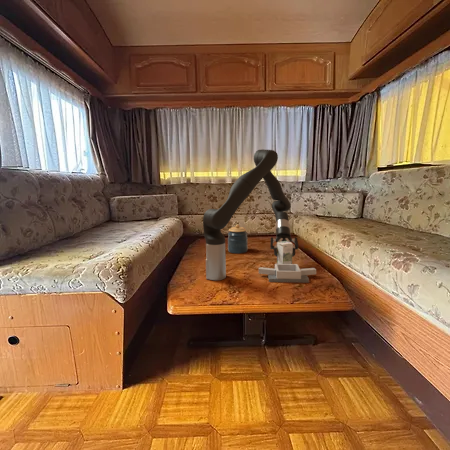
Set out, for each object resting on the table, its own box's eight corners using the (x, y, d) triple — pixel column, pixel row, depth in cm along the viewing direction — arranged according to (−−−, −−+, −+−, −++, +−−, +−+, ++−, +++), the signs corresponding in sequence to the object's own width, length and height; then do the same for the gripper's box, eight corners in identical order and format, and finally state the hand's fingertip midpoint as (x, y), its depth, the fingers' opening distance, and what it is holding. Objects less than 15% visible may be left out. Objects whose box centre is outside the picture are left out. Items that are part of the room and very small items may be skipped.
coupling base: (258, 281, 129) (258, 271, 128) (258, 272, 141) (258, 263, 140) (319, 282, 127) (319, 272, 126) (313, 273, 138) (314, 263, 138)
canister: (239, 247, 191) (238, 222, 188) (251, 251, 181) (251, 224, 178) (223, 250, 184) (223, 224, 181) (236, 255, 173) (235, 227, 170)
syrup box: (285, 266, 149) (286, 240, 147) (292, 270, 144) (292, 242, 141) (276, 268, 147) (276, 241, 145) (282, 271, 142) (283, 244, 139)
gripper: (270, 225, 150) (271, 252, 141) (297, 225, 148) (300, 252, 139) (269, 233, 156) (270, 259, 147) (295, 233, 155) (298, 259, 145)
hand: (284, 255), depth 143 cm, fingers open, 8 cm apart
